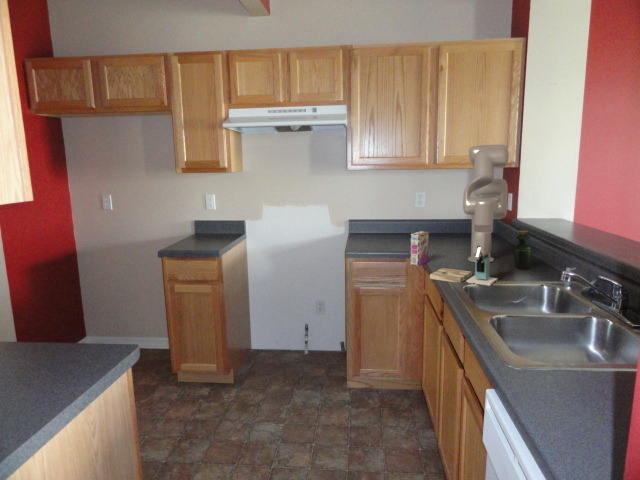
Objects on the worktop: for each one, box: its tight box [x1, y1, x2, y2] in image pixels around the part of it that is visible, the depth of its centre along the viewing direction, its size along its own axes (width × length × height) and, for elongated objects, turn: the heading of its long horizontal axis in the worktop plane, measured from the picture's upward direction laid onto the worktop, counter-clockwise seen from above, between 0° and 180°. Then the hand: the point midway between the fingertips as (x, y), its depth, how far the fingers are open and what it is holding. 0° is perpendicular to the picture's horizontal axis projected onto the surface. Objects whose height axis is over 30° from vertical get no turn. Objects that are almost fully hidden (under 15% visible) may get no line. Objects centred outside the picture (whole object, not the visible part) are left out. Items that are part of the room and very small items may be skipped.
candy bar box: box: [409, 230, 430, 267], centre depth 227 cm, size 11×5×16 cm, turn 141°
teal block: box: [474, 256, 491, 280], centre depth 190 cm, size 4×4×9 cm
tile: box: [465, 274, 498, 287], centre depth 191 cm, size 10×10×1 cm
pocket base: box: [429, 267, 473, 284], centre depth 199 cm, size 14×14×2 cm
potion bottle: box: [512, 230, 533, 271], centre depth 210 cm, size 8×8×18 cm
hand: (482, 270), depth 190 cm, fingers closed on teal block, 4 cm apart
